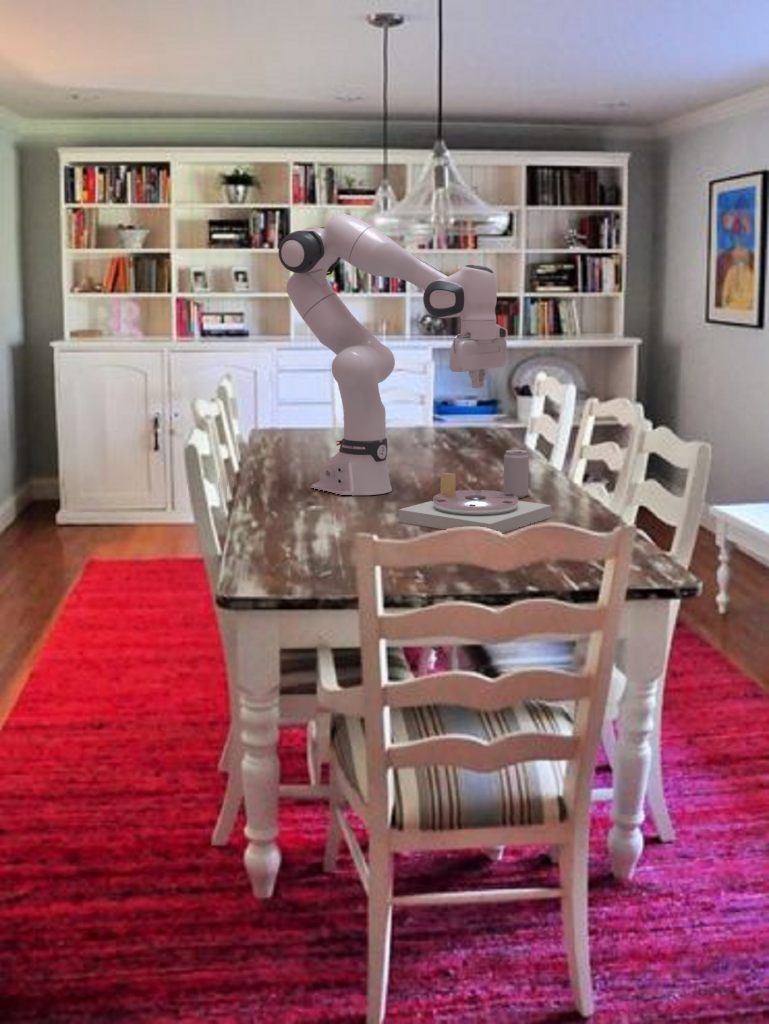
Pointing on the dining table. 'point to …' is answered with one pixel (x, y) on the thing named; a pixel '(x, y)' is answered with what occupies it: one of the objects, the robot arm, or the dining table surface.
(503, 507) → the turntable disc
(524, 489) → the beverage can
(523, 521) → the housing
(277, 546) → the dining table surface
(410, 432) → the dining table surface
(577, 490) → the dining table surface
